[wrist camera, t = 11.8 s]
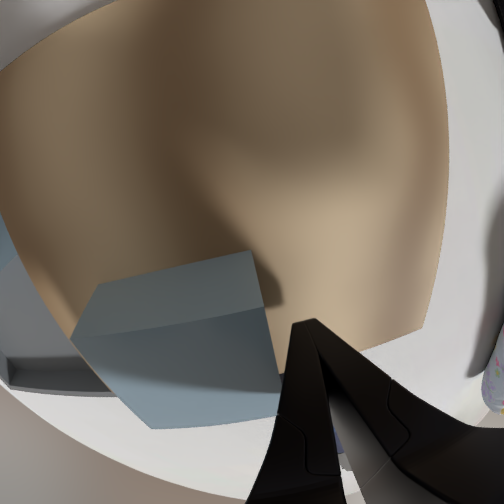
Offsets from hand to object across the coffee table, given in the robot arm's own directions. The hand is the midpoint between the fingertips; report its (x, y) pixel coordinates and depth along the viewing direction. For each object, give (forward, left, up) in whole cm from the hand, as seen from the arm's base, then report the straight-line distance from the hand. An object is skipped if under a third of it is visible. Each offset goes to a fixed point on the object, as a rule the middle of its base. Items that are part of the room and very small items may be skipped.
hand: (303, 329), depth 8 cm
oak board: (+2, -4, -4) cm, 5 cm away
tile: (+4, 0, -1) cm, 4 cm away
